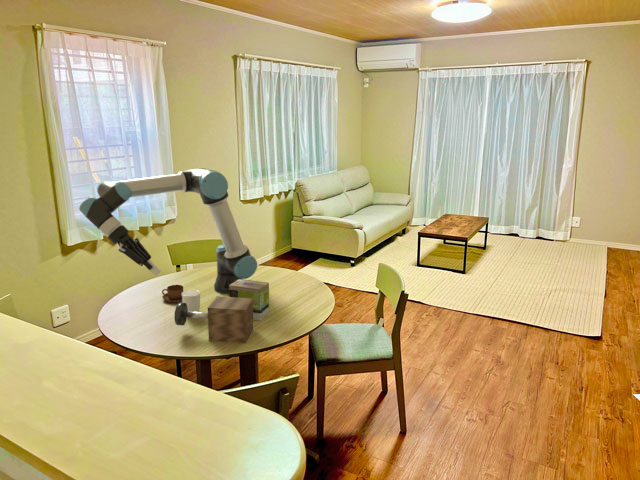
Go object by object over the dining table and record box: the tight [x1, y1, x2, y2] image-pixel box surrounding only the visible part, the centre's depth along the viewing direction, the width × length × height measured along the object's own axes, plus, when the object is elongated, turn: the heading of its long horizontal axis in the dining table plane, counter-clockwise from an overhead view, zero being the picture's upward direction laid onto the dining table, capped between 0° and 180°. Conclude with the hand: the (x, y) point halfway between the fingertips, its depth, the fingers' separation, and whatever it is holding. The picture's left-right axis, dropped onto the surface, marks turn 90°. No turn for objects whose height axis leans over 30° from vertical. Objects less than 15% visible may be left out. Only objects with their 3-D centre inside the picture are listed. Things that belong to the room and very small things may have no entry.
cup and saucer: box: [161, 284, 184, 303], centre depth 227 cm, size 12×12×6 cm
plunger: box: [174, 302, 208, 326], centre depth 191 cm, size 16×9×9 cm, turn 85°
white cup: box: [181, 289, 201, 312], centre depth 210 cm, size 8×8×10 cm
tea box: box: [228, 279, 270, 322], centre depth 211 cm, size 15×10×15 cm
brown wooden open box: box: [207, 296, 254, 344], centre depth 191 cm, size 15×12×14 cm
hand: (158, 273), depth 190 cm, fingers closed
